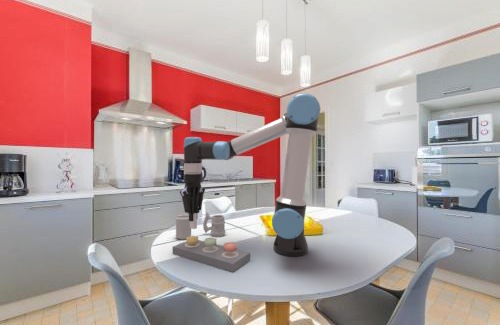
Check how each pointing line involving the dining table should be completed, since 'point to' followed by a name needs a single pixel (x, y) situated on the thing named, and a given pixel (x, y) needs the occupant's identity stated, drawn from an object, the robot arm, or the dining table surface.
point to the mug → (215, 225)
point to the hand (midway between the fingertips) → (193, 228)
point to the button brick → (230, 247)
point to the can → (183, 226)
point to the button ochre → (192, 240)
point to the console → (212, 255)
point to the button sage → (210, 242)
